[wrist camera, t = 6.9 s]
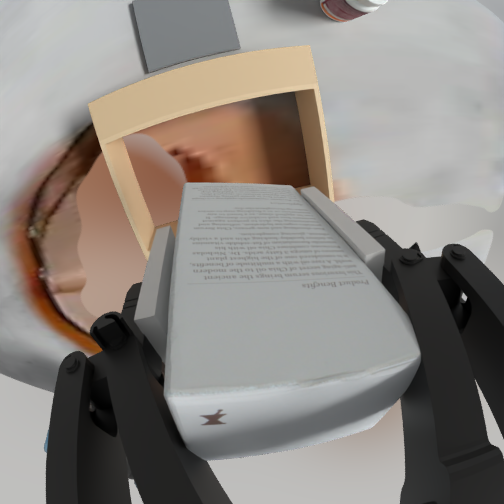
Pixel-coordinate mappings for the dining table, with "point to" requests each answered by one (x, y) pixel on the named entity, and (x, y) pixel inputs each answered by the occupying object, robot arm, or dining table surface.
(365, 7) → the pill bottle
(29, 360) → the dining table surface
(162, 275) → the robot arm
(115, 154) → the carton
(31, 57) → the dining table surface
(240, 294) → the skincare box
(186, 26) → the coaster
